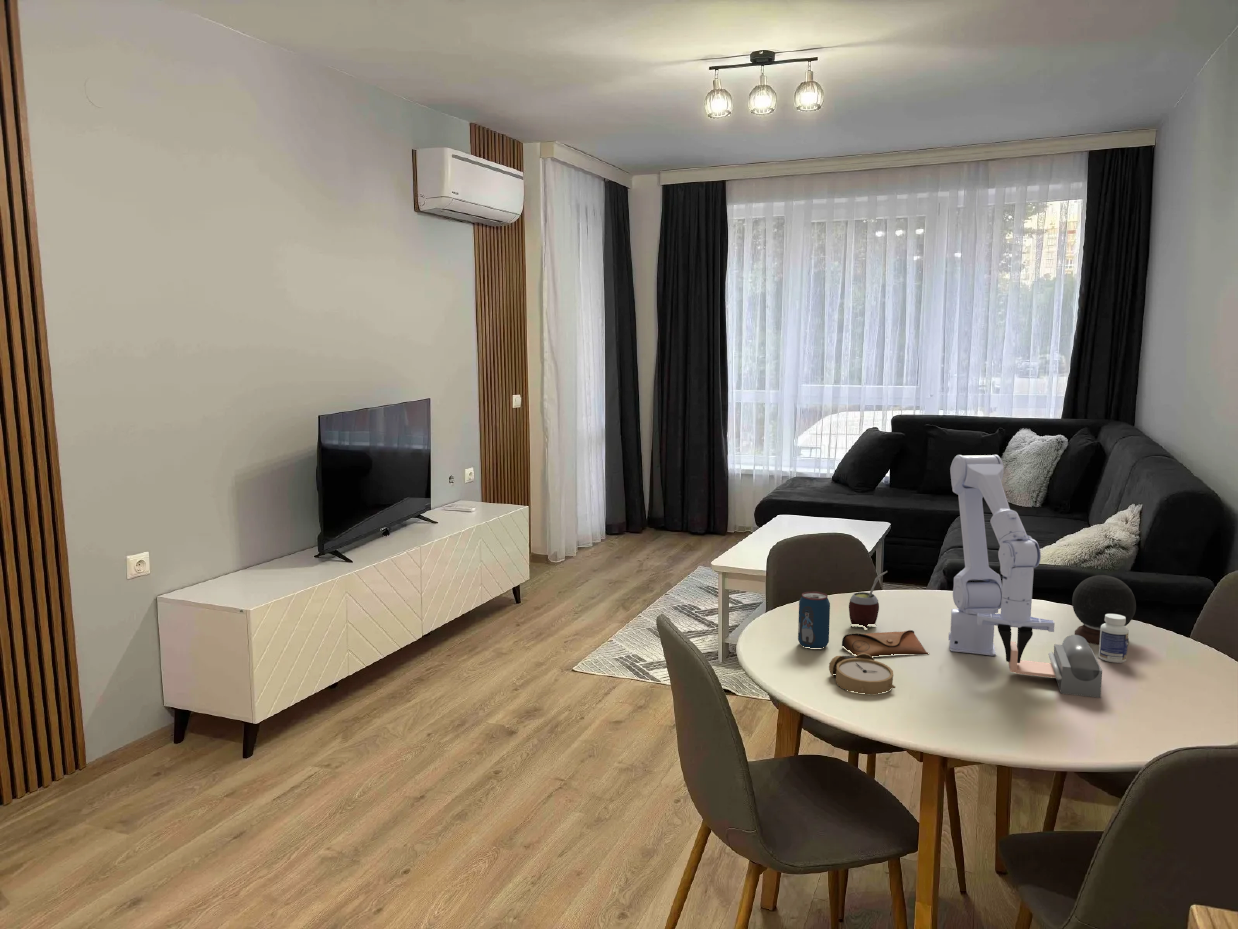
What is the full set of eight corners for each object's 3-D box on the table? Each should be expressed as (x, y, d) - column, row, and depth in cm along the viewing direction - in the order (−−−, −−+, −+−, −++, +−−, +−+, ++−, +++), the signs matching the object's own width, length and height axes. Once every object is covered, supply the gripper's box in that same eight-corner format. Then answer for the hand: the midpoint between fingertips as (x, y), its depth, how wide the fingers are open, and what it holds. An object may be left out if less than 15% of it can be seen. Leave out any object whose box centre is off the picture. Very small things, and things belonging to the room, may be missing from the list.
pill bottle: (1130, 664, 193) (1133, 620, 192) (1102, 662, 194) (1106, 619, 193) (1121, 655, 198) (1124, 613, 197) (1095, 654, 200) (1098, 612, 198)
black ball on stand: (1146, 645, 206) (1152, 581, 204) (1098, 649, 202) (1103, 585, 200) (1103, 627, 218) (1107, 567, 216) (1057, 631, 215) (1061, 570, 213)
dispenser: (1055, 692, 178) (1057, 653, 177) (1047, 668, 191) (1049, 632, 190) (1100, 697, 175) (1103, 658, 174) (1089, 673, 188) (1092, 636, 187)
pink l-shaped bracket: (1010, 672, 183) (1011, 651, 183) (1008, 661, 190) (1009, 640, 189) (1086, 681, 179) (1088, 659, 178) (1081, 669, 185) (1083, 648, 185)
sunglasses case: (858, 660, 196) (852, 629, 198) (845, 666, 202) (839, 636, 205) (932, 654, 200) (926, 624, 202) (917, 660, 206) (911, 631, 208)
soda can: (826, 641, 208) (828, 591, 207) (830, 651, 202) (832, 599, 200) (796, 640, 209) (797, 590, 207) (799, 650, 202) (800, 598, 201)
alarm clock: (854, 685, 175) (819, 647, 188) (851, 707, 176) (817, 668, 190) (905, 680, 177) (867, 642, 191) (901, 701, 179) (864, 663, 193)
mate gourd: (845, 622, 222) (847, 563, 220) (877, 622, 222) (879, 563, 220) (852, 632, 215) (855, 571, 213) (885, 632, 215) (888, 571, 213)
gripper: (979, 599, 183) (976, 663, 185) (1057, 606, 178) (1053, 671, 180) (978, 590, 190) (974, 652, 192) (1053, 596, 185) (1049, 660, 187)
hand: (1012, 660), depth 186 cm, fingers closed on pink l-shaped bracket
